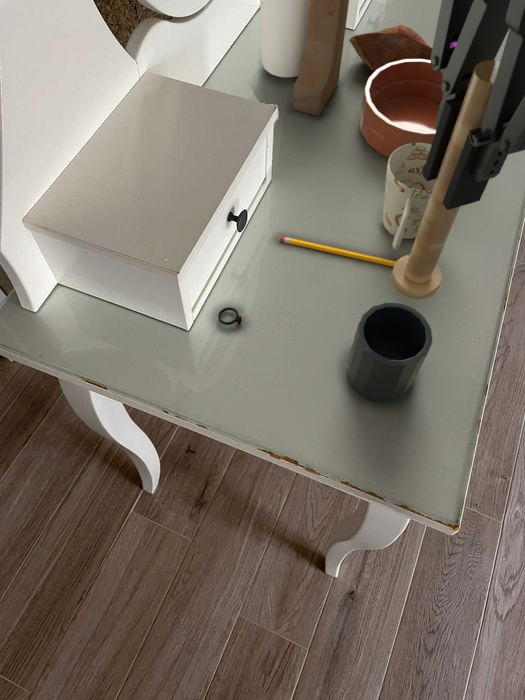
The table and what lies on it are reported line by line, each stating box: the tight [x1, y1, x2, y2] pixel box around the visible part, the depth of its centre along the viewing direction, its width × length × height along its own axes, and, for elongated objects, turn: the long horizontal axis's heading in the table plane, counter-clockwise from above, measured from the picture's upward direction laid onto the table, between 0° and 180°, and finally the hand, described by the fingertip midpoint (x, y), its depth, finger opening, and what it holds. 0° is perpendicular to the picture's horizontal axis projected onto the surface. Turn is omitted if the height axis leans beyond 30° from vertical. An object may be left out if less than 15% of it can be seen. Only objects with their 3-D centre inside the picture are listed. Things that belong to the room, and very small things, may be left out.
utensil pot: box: [346, 301, 433, 403], centre depth 64 cm, size 8×8×9 cm
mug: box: [382, 143, 436, 251], centre depth 74 cm, size 8×13×10 cm, turn 162°
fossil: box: [348, 24, 433, 73], centre depth 92 cm, size 13×8×10 cm
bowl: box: [358, 59, 444, 159], centre depth 86 cm, size 16×16×6 cm
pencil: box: [278, 235, 397, 268], centre depth 76 cm, size 1×19×1 cm, turn 74°
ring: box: [217, 306, 243, 326], centre depth 71 cm, size 2×1×3 cm
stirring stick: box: [391, 59, 501, 300], centre depth 44 cm, size 4×4×21 cm
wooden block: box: [292, 0, 350, 117], centre depth 84 cm, size 9×4×18 cm, turn 157°
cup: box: [259, 0, 310, 78], centre depth 89 cm, size 8×8×14 cm
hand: (450, 187), depth 44 cm, fingers closed on stirring stick, 2 cm apart
